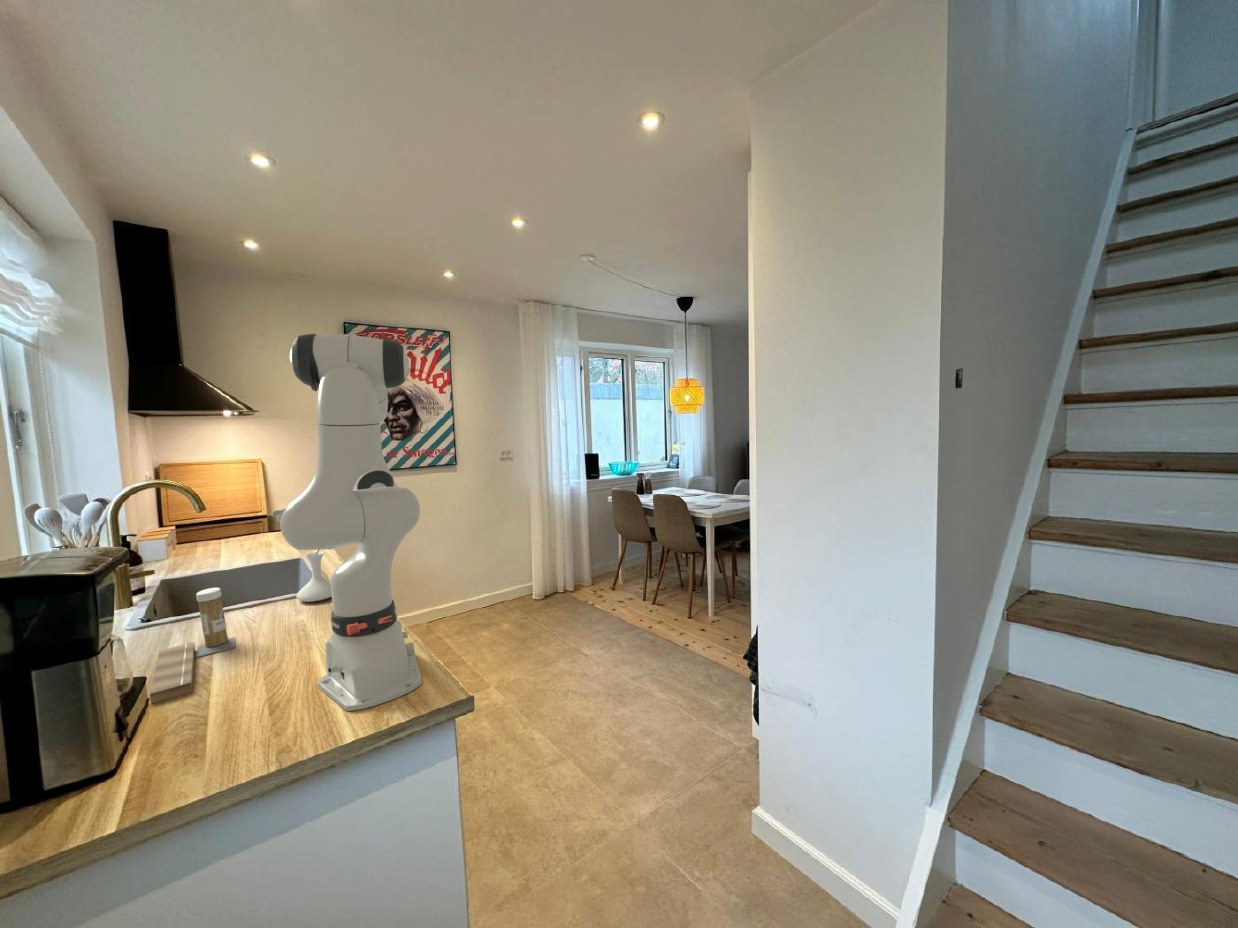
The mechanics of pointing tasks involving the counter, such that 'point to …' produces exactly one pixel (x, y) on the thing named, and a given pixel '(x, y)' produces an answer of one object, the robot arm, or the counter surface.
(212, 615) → the sprinkles bottle
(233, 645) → the end pad
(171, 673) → the board
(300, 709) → the counter surface
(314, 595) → the flower in vase
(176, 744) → the counter surface
